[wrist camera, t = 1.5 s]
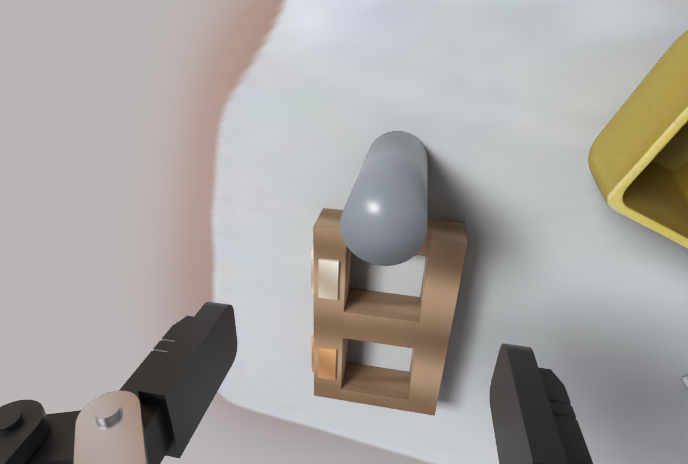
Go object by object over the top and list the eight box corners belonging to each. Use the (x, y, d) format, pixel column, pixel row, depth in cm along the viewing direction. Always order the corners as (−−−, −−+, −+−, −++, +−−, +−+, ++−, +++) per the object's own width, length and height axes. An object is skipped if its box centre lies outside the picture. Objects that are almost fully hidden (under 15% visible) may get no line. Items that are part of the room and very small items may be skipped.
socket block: (319, 207, 31) (308, 227, 28) (464, 222, 29) (467, 245, 26) (318, 368, 38) (310, 396, 35) (434, 386, 37) (434, 417, 34)
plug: (369, 129, 27) (341, 183, 19) (431, 133, 27) (432, 192, 18) (365, 186, 29) (339, 260, 21) (423, 191, 29) (421, 270, 20)
